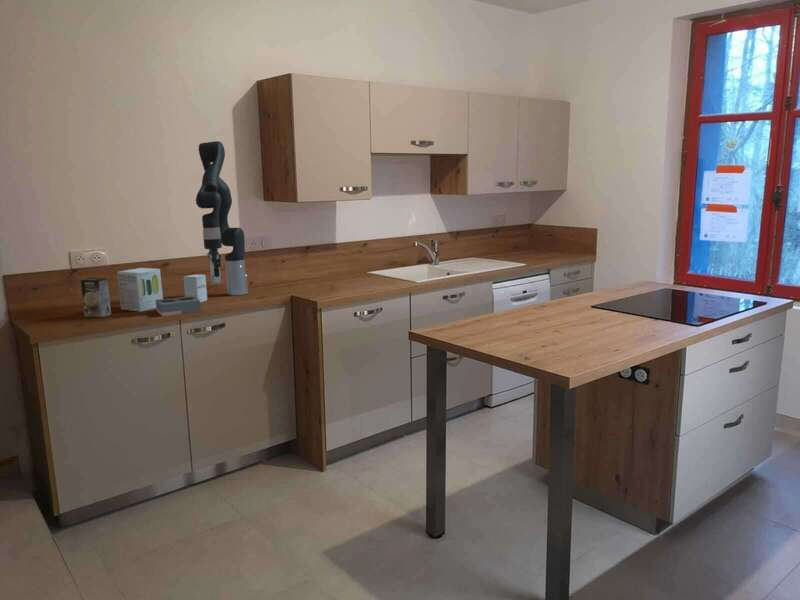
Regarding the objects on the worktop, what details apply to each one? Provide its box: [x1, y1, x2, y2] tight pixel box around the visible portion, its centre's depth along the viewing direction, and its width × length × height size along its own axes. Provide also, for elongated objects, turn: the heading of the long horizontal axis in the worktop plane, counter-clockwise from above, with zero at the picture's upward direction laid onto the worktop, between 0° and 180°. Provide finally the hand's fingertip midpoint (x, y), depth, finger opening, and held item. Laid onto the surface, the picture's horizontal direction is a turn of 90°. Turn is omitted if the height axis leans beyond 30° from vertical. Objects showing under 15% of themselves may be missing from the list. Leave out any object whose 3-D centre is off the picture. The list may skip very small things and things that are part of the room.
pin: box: [209, 261, 222, 285], centre depth 283 cm, size 4×4×10 cm
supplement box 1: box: [117, 267, 164, 312], centre depth 287 cm, size 13×13×18 cm
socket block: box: [155, 296, 202, 317], centre depth 277 cm, size 16×14×5 cm
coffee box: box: [80, 277, 112, 318], centre depth 272 cm, size 9×6×16 cm
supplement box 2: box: [183, 274, 208, 303], centre depth 299 cm, size 7×7×13 cm
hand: (215, 275), depth 284 cm, fingers closed on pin, 4 cm apart
